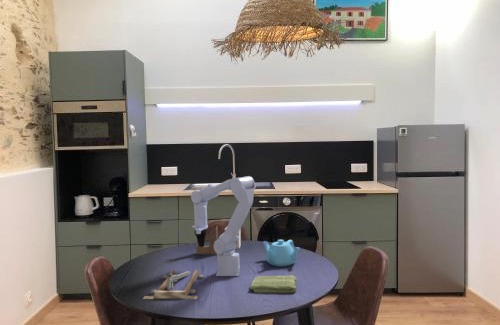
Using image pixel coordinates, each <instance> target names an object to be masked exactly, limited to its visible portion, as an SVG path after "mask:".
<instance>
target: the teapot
mask: <svg viewBox="0 0 500 325" xmlns="http://www.w3.org/2000/svg"><path fill="white" fill-rule="evenodd" d="M262 243H263V247H264V251H265V256H266V257H265V259H266V262H267V263H268V264H269V265H270V266H273V267H279V268H280V267H288V266H292V265H294V263H295V261H297V258H298V257H297V256H298V254H299V252H300V247H295V245H294V240H292V239H288V240H287V241H284V239H277V241H275V242H272V243H271V245H270V244H269V242H268V241H263V242H262Z"/></svg>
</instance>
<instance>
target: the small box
mask: <svg viewBox="0 0 500 325" xmlns="http://www.w3.org/2000/svg"><path fill="white" fill-rule="evenodd" d="M226 228H227V226H226V227H225V228H224V232H225V230H226ZM224 232H223V233H224ZM241 235H242V234H241V229H240V230H239V232H238V234H237V236H238V237H239V239H238V245H237V248H236V249H235V250H239V249H240V248H241V245H242V244H241V242H242V240H241V238H242V236H241Z"/></svg>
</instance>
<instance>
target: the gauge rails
mask: <svg viewBox="0 0 500 325" xmlns="http://www.w3.org/2000/svg"><path fill="white" fill-rule="evenodd" d="M169 274H172V276H173V275H176V270H175V269H173V270H171V272H170V273H169ZM169 274H163V275H162V276H161V277H162V278H163V280H164V281H163V282H162V284H161V285H160V286H159V288H158V289H152V290H150V296H149V295H147V296H146V295H144V297H143V298H142V300H154V299H185V300H197V299H198V295H195V294H196V293H197V292H196V291H197V290H196V289H191V288H192V286H193V284H194V282H195V281H196V280H202V279H204V275H203V274H199V270H198V269H195V271H194V272H193V274H192V276H191V278H190V279H189V281H188V283H187V284H186V286H185V288H184V290H165V289H166V288H167V280H168V275H169ZM165 287H166V288H165Z"/></svg>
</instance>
